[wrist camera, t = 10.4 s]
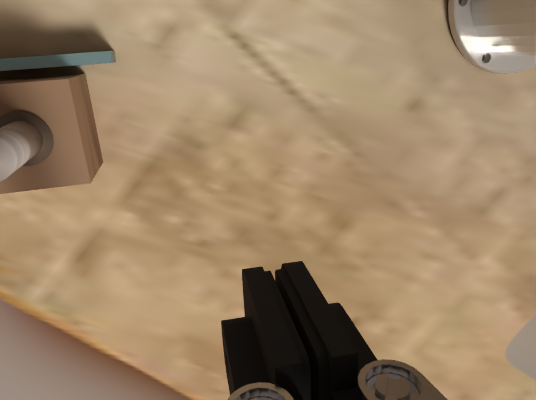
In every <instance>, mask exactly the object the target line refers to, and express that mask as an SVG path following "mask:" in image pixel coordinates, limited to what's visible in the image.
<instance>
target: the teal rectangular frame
mask: <svg viewBox="0 0 536 400" xmlns="http://www.w3.org/2000/svg"><path fill="white" fill-rule="evenodd" d="M113 62H116V59H115V53H114V51H101V52H87V53H73V54H58V55H44V56H29V57H15V58H1V59H0V71H7V70H20V69H34V68H47V67H61V66H74V65H88V64H101V63H113Z"/></svg>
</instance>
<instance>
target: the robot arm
mask: <svg viewBox="0 0 536 400" xmlns="http://www.w3.org/2000/svg"><path fill="white" fill-rule="evenodd" d="M458 1H459V2H458ZM448 15H449V24H450V29H451V33H452V36H453V38H454V41H455V43H456V45H457V47H458V49H459V50H460V52H461V53H462V55H463V56H464V57H465V58H466V59H467V60H468V61H469V62H470V63H472V64H473V65H474V66H476V67H478V68H480V69H482V70H485V71H488V72H492V73H503V74H508V73H517V72H521V71H524V70H527V69H529V68H531V67H533V66H535V65H536V0H449V2H448ZM242 281H243V296H244V311H245V317H242V318H235V319H229V320H223V321H221V326H222V338H223V348H224V357H225V365H226V373H227V379H228V385H229V391H230V397H229V398H228V400H447V399H446V398H445V397H444V396H443V395H442V394H441V393H440V392H439V391H438V390H437V389H436V388H435V387H434V386H433V385H432V384H431V383H430V382H429V381H428V380H427V379H426V378H425V377H424V376H423V375H422V374H421V373H420V372H419V371H418V370H416V369H415V368H414V367H412V366H410V365H408V364H406V363H403V362H399V361H395V360H384V359H383V360H377V359H376V357H375V356H374V354H373V353H372V351H371V349H370V348H369V346H368V345H367V343H366V342H365V340H364V339H363V337H362V336H361V334H360V333H359V331H358V330H357V328H356V327H355V325H354V324H353V322H352V321H351V319H350V317H349V316H348V314H347V313H346V311H345V310H344V308H343V307H342V306H341V304H340V303H331V304H328V303H327V301H326V299H325V298H324V296H323V294H322V293H321V291H320V289H319V288H318V286H317V285H316V283H315V281H314V280H313V278H312V276H311V275H310V273H309V271H308V270H307V268H306V266H305V265H304V263H303V262H302V261H299V262H292V263H284V264H282V267H281V269H278V270H276V271H275V280H274V278H273V275H272V273H271V271H264V269H263V267H255V268H248V269H242Z"/></svg>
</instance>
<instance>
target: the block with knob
mask: <svg viewBox="0 0 536 400" xmlns="http://www.w3.org/2000/svg"><path fill="white" fill-rule="evenodd" d="M102 163H103V160H102V155H101V150H100V145H99V140H98V135H97V130H96V125H95V120H94V115H93V110H92V105H91V100H90V95H89V90H88V85H87V80H86V75H85V74H73V75H60V76H47V77H34V78H21V79H8V80H0V194H4V193H12V192H20V191H29V190H37V189H46V188H54V187H62V186H71V185H79V184H88V183H91V182H92V180H93V178H94V177H95V175H96V173H97V171H98V170H99V168H100V166H101V165H102Z"/></svg>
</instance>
